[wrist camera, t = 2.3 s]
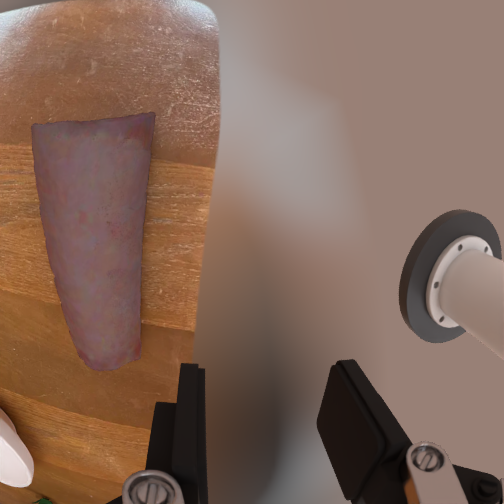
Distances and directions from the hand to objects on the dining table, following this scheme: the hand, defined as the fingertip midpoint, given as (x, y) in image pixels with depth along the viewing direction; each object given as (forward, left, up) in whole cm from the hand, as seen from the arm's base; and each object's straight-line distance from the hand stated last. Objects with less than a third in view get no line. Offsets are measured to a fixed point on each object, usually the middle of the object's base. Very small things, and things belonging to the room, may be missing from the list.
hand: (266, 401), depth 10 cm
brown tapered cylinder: (+12, -1, -20) cm, 23 cm away
